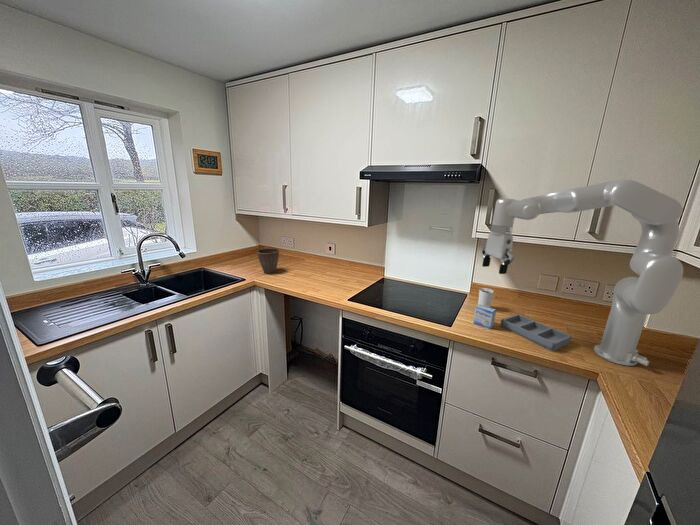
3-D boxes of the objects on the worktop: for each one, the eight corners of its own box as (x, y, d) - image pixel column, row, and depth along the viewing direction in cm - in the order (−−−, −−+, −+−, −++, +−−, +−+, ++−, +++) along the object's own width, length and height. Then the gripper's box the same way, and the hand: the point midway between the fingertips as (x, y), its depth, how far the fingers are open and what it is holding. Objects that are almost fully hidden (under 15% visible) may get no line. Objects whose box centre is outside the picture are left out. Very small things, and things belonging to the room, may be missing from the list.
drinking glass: (491, 307, 151) (494, 289, 148) (490, 311, 145) (493, 293, 143) (477, 304, 154) (480, 287, 151) (476, 308, 149) (478, 291, 146)
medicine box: (472, 323, 134) (475, 306, 131) (476, 320, 137) (479, 303, 134) (490, 329, 128) (493, 312, 126) (493, 326, 131) (496, 309, 129)
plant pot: (255, 275, 196) (253, 253, 192) (262, 269, 211) (261, 248, 206) (277, 275, 196) (275, 253, 192) (282, 269, 210) (281, 248, 206)
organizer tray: (569, 343, 118) (571, 336, 117) (553, 351, 112) (554, 343, 111) (516, 320, 137) (518, 313, 136) (500, 326, 131) (501, 319, 130)
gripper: (526, 233, 108) (517, 276, 113) (493, 226, 124) (486, 263, 129) (510, 234, 106) (501, 277, 111) (479, 226, 122) (472, 264, 127)
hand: (493, 269), depth 120 cm, fingers open, 9 cm apart
